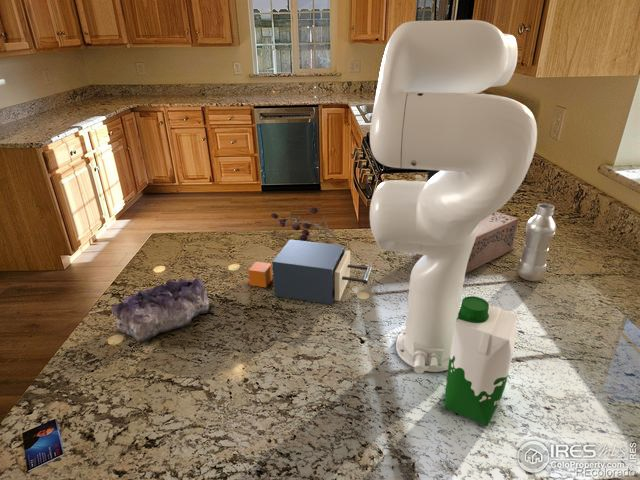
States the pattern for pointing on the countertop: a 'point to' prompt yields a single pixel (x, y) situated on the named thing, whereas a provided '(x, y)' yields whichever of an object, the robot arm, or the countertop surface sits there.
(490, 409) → the milk carton
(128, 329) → the geode
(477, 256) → the tissue box cover
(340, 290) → the cabinet drawer
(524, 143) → the robot arm
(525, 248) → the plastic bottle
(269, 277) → the orange foam cube
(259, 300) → the countertop surface
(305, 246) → the blue cabinet body
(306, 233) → the decorative branch
